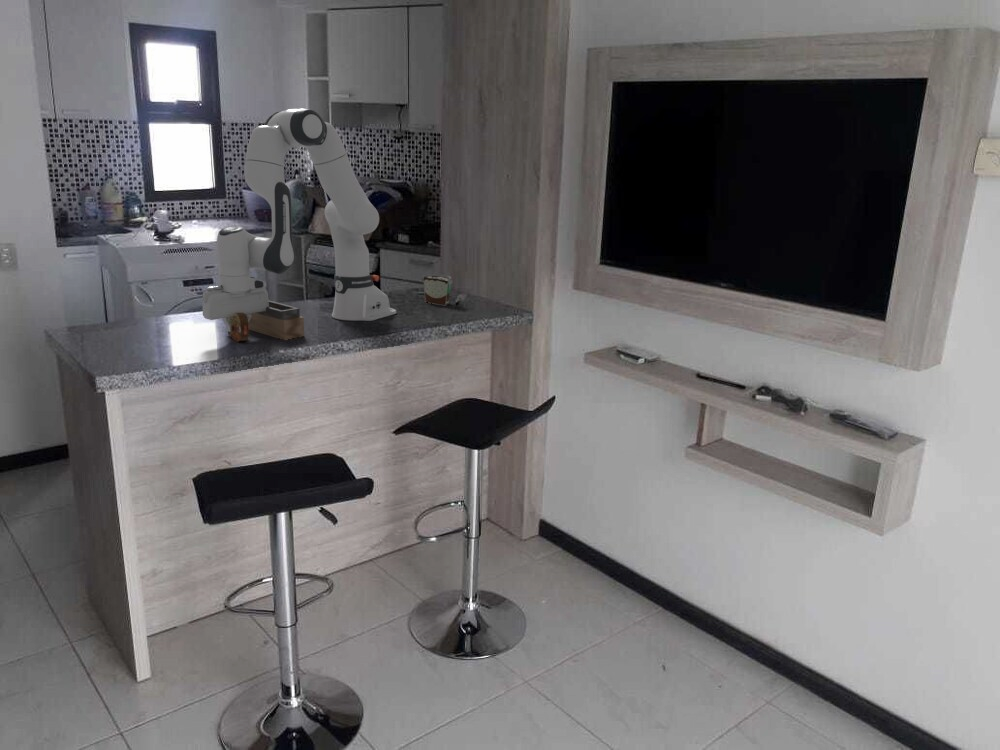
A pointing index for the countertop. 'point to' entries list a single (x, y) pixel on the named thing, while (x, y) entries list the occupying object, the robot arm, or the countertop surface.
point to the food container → (437, 289)
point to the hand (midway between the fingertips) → (237, 329)
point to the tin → (239, 327)
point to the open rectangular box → (278, 321)
